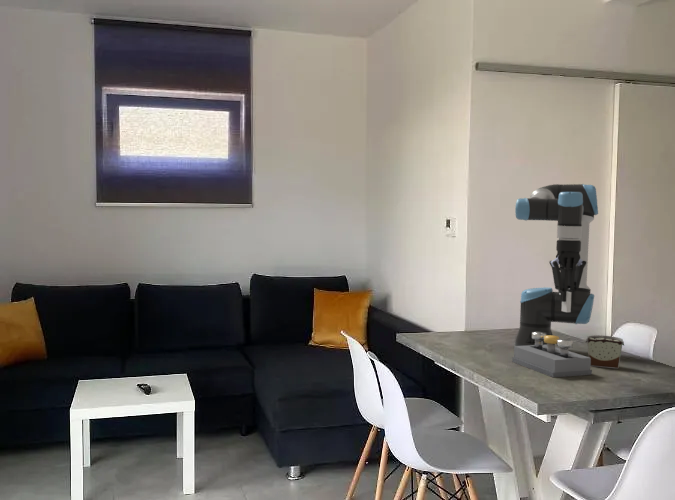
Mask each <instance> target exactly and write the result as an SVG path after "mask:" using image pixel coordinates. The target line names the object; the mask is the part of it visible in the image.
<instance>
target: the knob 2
mask: <svg viewBox="0 0 675 500" xmlns="http://www.w3.org/2000/svg"><path fill="white" fill-rule="evenodd" d="M573 343H574V341H573V340H572V339H567V338H559V339H558V340H557V344H556V347H557V348H560V357H563V358H568V354H569V351H570V348H571V349H572V348H573Z"/></svg>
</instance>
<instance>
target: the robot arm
mask: <svg viewBox="0 0 675 500" xmlns="http://www.w3.org/2000/svg"><path fill="white" fill-rule="evenodd" d="M597 196H598V195H597V188H596V186H595V185H593V184H584V183H582V184H581V183H578V184H574V183H573V184H570V183H569V184H559V183H558V184H557V183H556V184H554V183H553V184H549V185H545V186H542V187H539V188H536V189H535V190H534V191H533V192H532V193H531V194H530V195H529V198H527V197H524V198H522V197H521V198H517V200H516V202H515V218H516V219H517V220H520V221H555V222H557V225H556V227H557V229H556V238H557V241H556V256H555V258H554V259H553V260H549V261H548V262H549V264H550V267H551V272H552V277H553V284H554V289H555V290H557V291H554V289H553V288H552V287H545V286H544V287H533V288H527V289H524V290H522V292H521V293H520V301H519V302H520V309H519V311H520V313H519V314H520V317H519V328H518V331H517V333H516V337H515V339H514V346H528V345H535V339H532V332H544V333H546V335H553V332H552V323H562V324H574V325H587V324H588V323H589V322H590V321H591V317H592V312H593V307H594V301H595V300H594V299H595V294H594V293H591V291H592V290H591V287H589V286H588V283H587V281H588V263H589V262H588V260H589V241H590V240H589V239H590V223H592V222H593V221H594V220H595V216H597V215H598V214H599V210H598V209H599V207H598V206H599V205H598V197H597ZM543 345H547V343H545V342H544V340H543Z"/></svg>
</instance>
